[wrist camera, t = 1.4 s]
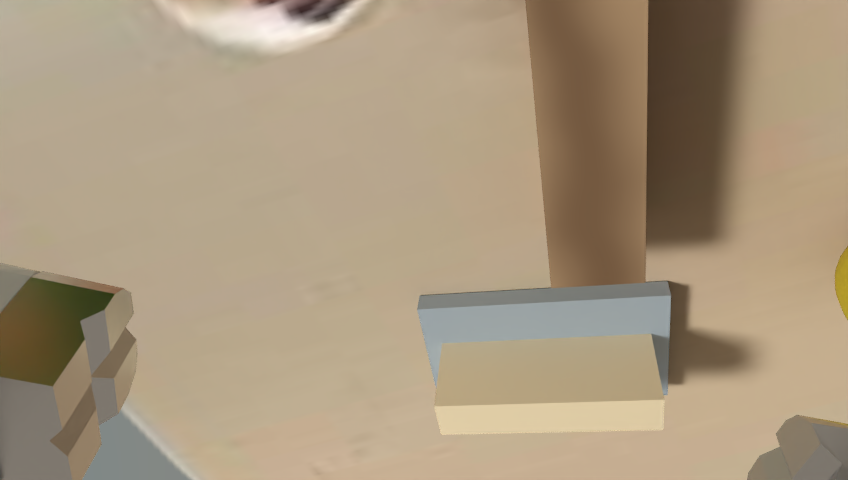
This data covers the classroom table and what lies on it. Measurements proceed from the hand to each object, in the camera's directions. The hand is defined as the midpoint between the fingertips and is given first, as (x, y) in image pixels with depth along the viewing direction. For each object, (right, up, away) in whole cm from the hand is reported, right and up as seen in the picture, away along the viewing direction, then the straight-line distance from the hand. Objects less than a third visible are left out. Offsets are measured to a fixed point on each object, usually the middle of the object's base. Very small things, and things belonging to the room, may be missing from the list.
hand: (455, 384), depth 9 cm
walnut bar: (+7, +11, +24) cm, 27 cm away
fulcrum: (+7, -4, +35) cm, 35 cm away
